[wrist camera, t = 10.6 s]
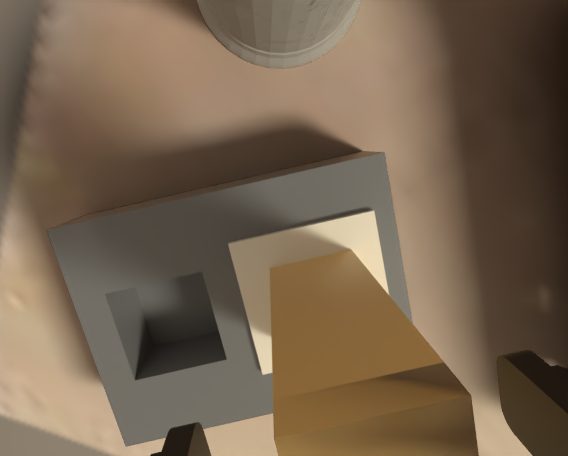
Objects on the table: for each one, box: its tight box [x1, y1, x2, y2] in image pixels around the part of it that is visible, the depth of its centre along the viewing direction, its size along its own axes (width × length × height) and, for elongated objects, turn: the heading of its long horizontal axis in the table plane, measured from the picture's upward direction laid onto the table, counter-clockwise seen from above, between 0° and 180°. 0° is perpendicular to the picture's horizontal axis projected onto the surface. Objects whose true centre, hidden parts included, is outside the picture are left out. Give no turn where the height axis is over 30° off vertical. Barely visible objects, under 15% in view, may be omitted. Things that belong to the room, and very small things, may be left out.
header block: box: [46, 151, 413, 447], centre depth 21 cm, size 12×16×4 cm
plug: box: [270, 250, 479, 456], centre depth 14 cm, size 4×4×11 cm
